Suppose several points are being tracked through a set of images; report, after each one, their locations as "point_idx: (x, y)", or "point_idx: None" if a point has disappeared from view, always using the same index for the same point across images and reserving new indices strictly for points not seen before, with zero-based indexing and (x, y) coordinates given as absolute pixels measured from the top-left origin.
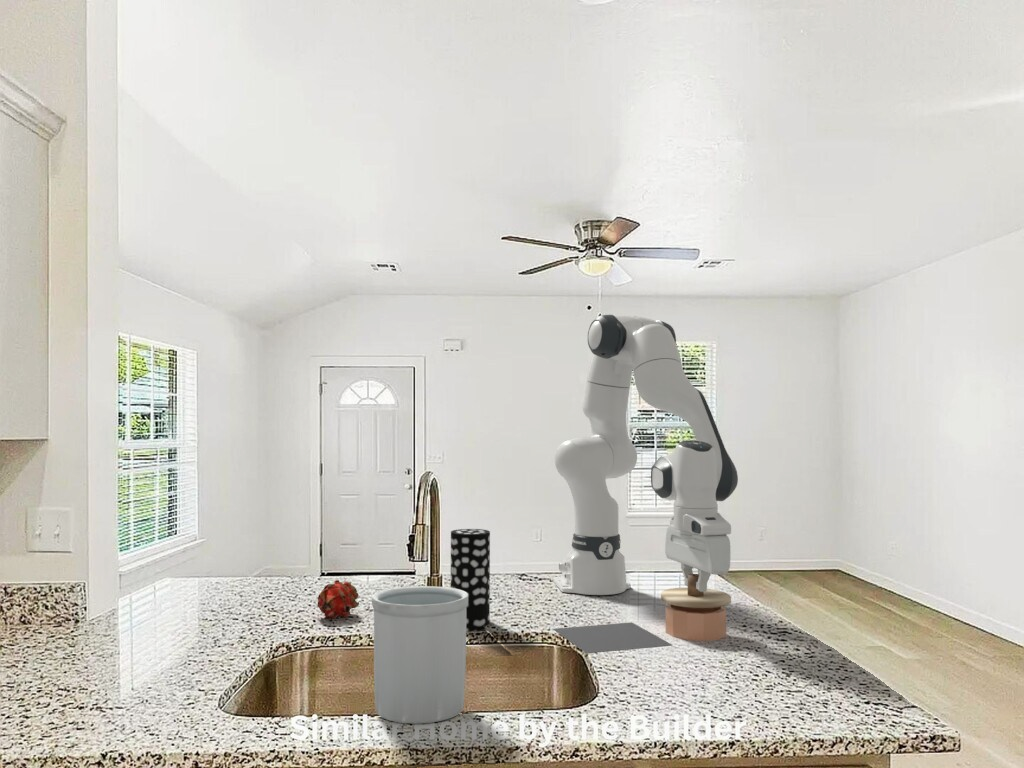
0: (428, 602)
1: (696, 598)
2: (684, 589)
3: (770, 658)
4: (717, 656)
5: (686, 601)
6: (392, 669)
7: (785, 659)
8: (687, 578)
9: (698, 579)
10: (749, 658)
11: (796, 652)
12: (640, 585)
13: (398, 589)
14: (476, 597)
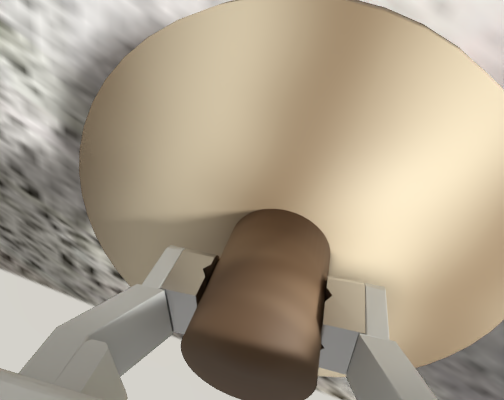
0: None
1: (190, 198)
2: (453, 291)
3: (48, 182)
4: (59, 53)
5: (121, 90)
6: None
7: (43, 205)
8: (330, 325)
9: (132, 304)
10: (45, 134)
11: (97, 259)
12: None
13: None
14: None
